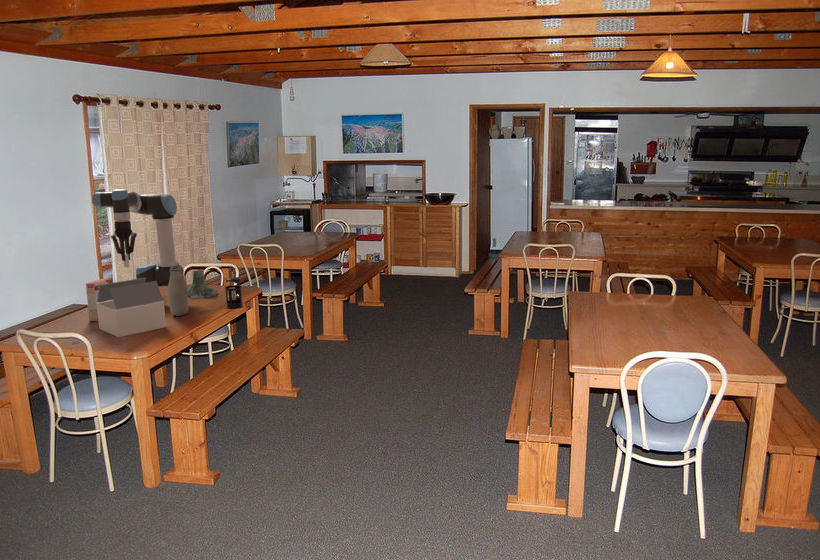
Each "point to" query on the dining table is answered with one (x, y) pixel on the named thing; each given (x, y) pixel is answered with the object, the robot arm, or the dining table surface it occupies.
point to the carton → (130, 318)
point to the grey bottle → (178, 291)
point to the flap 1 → (105, 288)
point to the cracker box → (94, 297)
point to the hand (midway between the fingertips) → (126, 266)
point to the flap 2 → (136, 294)
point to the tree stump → (200, 287)
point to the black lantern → (233, 303)
